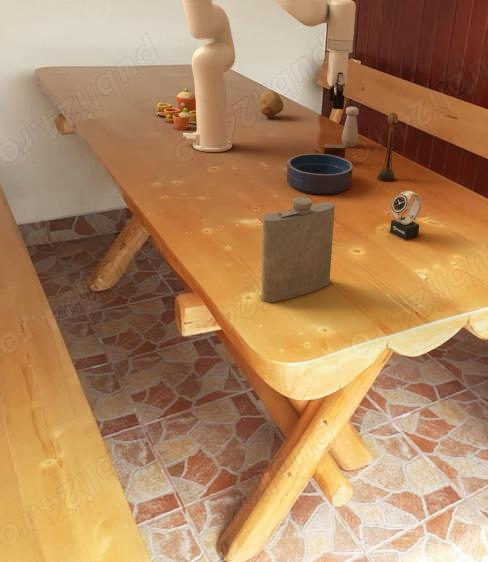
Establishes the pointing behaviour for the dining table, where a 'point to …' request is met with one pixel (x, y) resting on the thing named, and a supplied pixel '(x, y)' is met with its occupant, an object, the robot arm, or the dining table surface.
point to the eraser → (334, 150)
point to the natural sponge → (270, 104)
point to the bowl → (319, 173)
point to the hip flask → (297, 250)
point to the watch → (401, 224)
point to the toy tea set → (180, 110)
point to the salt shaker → (350, 128)
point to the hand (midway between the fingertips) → (336, 104)
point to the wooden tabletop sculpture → (389, 151)
